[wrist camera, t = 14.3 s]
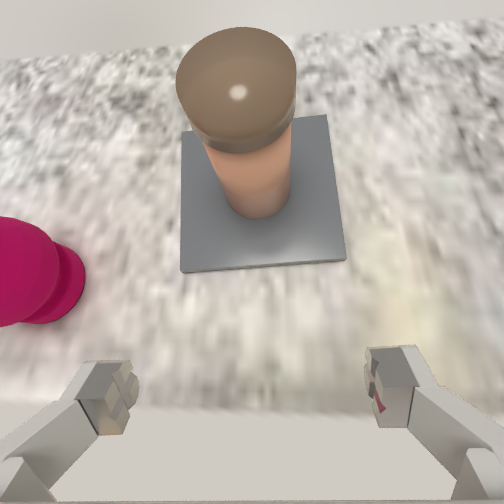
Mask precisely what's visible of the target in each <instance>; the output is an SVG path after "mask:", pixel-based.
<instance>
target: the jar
mask: <svg viewBox="0 0 504 504" xmlns="http://www.w3.org/2000/svg"><path fill="white" fill-rule="evenodd" d="M176 91H177V95H178V98H179V100H180V102H181V104H182V107H183V109H184V111H185V113H186V116H187V118H188V120H189V122H190V125H191V127H192V129H193V131H194V133H195V134H196V136H197V137H198V138H199V139H200V140H201V141H202V142H203V145H204V147H205V149H206V152H207V154H208V157H209V159H210V161H211V164H212V166H213V168H214V171H215V173H216V175H217V178H218V180H219V182H220V185H221V187H222V189H223V192H224V194H225V196H226V199H227V201H228V203H229V205H230V207H231V208H232V209H233V210H234V211H235V212H236V213H238V214H239V215H241V216H243V217H246V218H249V219H264V218H267V217H270V216H272V215H274V214H276V213H277V212H279V211H280V210H281V209H282V208H283V207H284V205H285V204H286V202H287V200H288V198H289V195H290V175H291V121H292V118H293V116H294V112H295V100H296V63H295V59H294V56H293V54H292V52H291V50H290V49H289V47H288V46H287V45H286V44H285V43H284V42H283V41H282V40H281V39H280V38H278V37H277V36H275V35H274V34H272V33H269V32H267V31H264V30H261V29H256V28H249V27H236V28H229V29H225V30H222V31H218V32H216V33H213V34H211V35H209V36H207V37H205V38H203V39H202V40H201V41H199V42H198V43H196V44H195V45H194V46H193V47H192V48H191V49H190V50H189V51H188V52H187V53H186V55H185V56H184V58H183V59H182V61H181V63H180V65H179V68H178V70H177V75H176Z"/></svg>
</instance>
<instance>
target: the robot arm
mask: <svg viewBox="0 0 504 504" xmlns="http://www.w3.org/2000/svg"><path fill="white" fill-rule="evenodd" d="M365 357H366V360H367V364H366V365H365V367H364V375H365V383H366V388H367V391H368V395H369V396H370V397H371V398H372V399H373V411H374V414H375V417H376V420H377V423H378V426H379V428H408V430H409V431H410V432H411V433H412V434H413V435H414V436H415V437H416V438H417V439H418V440H419V441H420V442H421V444H422V445H423V446H424V447H425V448H427V450H428V451H429V452H430V453H431V454H432V455H433V456H434V457H435V458H436V459H437V460H438V461H439V462H440V463H441V464H442V465H443V466H444V467H445V468H446V469H447V470H448V471H449V472H450V473H451V474H452V476H454V478H455V479H456V480H457V482H456V485H455V488H454V491H453V494H452V497H451V500H360V501H359V500H355V501H354V500H341V501H335V500H333V501H132V502H130V501H126V502H125V501H119V502H118V501H117V502H114V501H112V502H57V501H56V499H55V498H54V496H53V495H52V494H51V492H50V491H49V489H50V488H51V487H52V486H53V485H54V483H55V482H56V481H57V480H58V479H59V478H60V477H61V476H62V475H63V474H64V473H65V472H66V471H67V470H68V468H69V467H71V466H72V464H73V463H74V462H75V461H76V460H77V459H78V458H79V457H80V456H81V455H82V454H83V453H84V452H85V451H86V450H87V449H88V448H89V446H90V445H91V444H92V443H93V442H94V441H95V440H96V439H97V438H98V436H101V435H119V434H123V431H124V429H125V427H126V424H127V422H128V420H129V417H130V414H129V409H130V408H131V407H132V406H133V405H134V404H135V403H136V400H137V398H138V393H139V381H138V378H137V376H136V375H134V374H133V373H132V372H131V370H132V368H133V366H132V364H131V362H130V360H100V361H86V362H85V363H83V364H82V366H81V367H80V369H79V370H78V372H77V373H76V375H75V376H74V378H73V379H72V381H71V382H70V384H69V385H68V387H67V388H66V390H65V391H64V393H63V395H62V396H61V398H60V399H59V401H54V402H52V403H51V404H49V405H48V406H47V407H45V408H44V409H43V410H41V411H40V412H38V413H37V414H36V415H34V416H33V417H32V418H30V419H29V420H27V421H26V422H25V423H23V424H22V425H21V426H19V427H18V428H16V429H15V430H14V431H12V432H11V433H10V434H8V435H7V436H5V437H4V438H3V439H1V440H0V504H504V428H503V427H502V426H501V425H499V424H498V423H496V422H495V421H494V420H492V419H491V418H489V417H488V416H486V415H485V414H484V413H482V412H481V411H479V410H478V409H476V408H475V407H473V406H472V405H471V404H469V403H468V402H466V401H465V400H463V399H462V398H461V397H459V396H458V395H456V394H455V393H453V392H452V391H450V390H449V389H448V388H446V387H445V386H439V385H438V383H437V381H436V380H435V378H434V376H433V374H432V372H431V371H430V369H429V367H428V365H427V363H426V362H425V360H424V358H423V356H422V354H421V353H420V351H419V349H418V347H417V346H416V345H399V346H382V347H367V348H366V352H365Z"/></svg>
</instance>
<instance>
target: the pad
mask: <svg viewBox="0 0 504 504" xmlns="http://www.w3.org/2000/svg"><path fill="white" fill-rule="evenodd" d="M346 258H347V257H346V250H345V243H344V236H343V229H342V222H341V214H340V207H339V200H338V193H337V186H336V179H335V172H334V165H333V158H332V150H331V143H330V136H329V129H328V122H327V115H326V114H325V115H317V116H308V117H300V118H292V121H291V175H290V195H289V198H288V200H287V202H286V204H285V205H284V207H283V208H282V209H281V210H280V211H279V212H277V213H276V214H274V215H272V216H270V217H267V218H264V219H249V218H246V217H243V216H241V215H239V214H238V213H236V212H235V211H234V210H233V209H232V208H231V207H230V205H229V203H228V201H227V199H226V196H225V194H224V192H223V189H222V187H221V185H220V182H219V180H218V178H217V175H216V173H215V171H214V168H213V166H212V164H211V161H210V159H209V157H208V154H207V152H206V149H205V147H204V145H203V142H202V141H201V140H200V139H199V138H198V137H197V136H196V134H195V133H194V131H185V132H182V160H181V239H180V271H181V272H183V273H191V272H204V271H216V270H229V269H242V268H255V267H268V266H280V265H293V264H306V263H319V262H332V261H344V260H345V259H346Z"/></svg>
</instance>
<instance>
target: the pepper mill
mask: <svg viewBox="0 0 504 504" xmlns="http://www.w3.org/2000/svg"><path fill="white" fill-rule="evenodd" d="M84 280H85V273H84V267H83V264H82V262H81V260H80V258H79V257H78V255H77V254H76V253H75V252H74V251H72V250H71V249H69V248H67V247H65V246H62V245H60V244H58V243H55V242H53V241H52V240H51V238H50V237H49V236H48V235H47V234H46V233H45V232H44V231H42V230H41V229H40V228H38V227H36V226H34V225H32V224H30V223H27V222H24V221H21V220H18V219H15V218H9V217H1V216H0V327H3V326H8V325H12V324H14V323H17V322H24V323H35V324H42V323H48V322H52V321H55V320H57V319H59V318H61V317H62V316H64V315H65V314H66V313H68V312H69V311H70V310H71V309H72V308H73V306H74V305H75V304H76V302H77V301H78V299H79V297H80V295H81V293H82V290H83V287H84Z"/></svg>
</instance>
